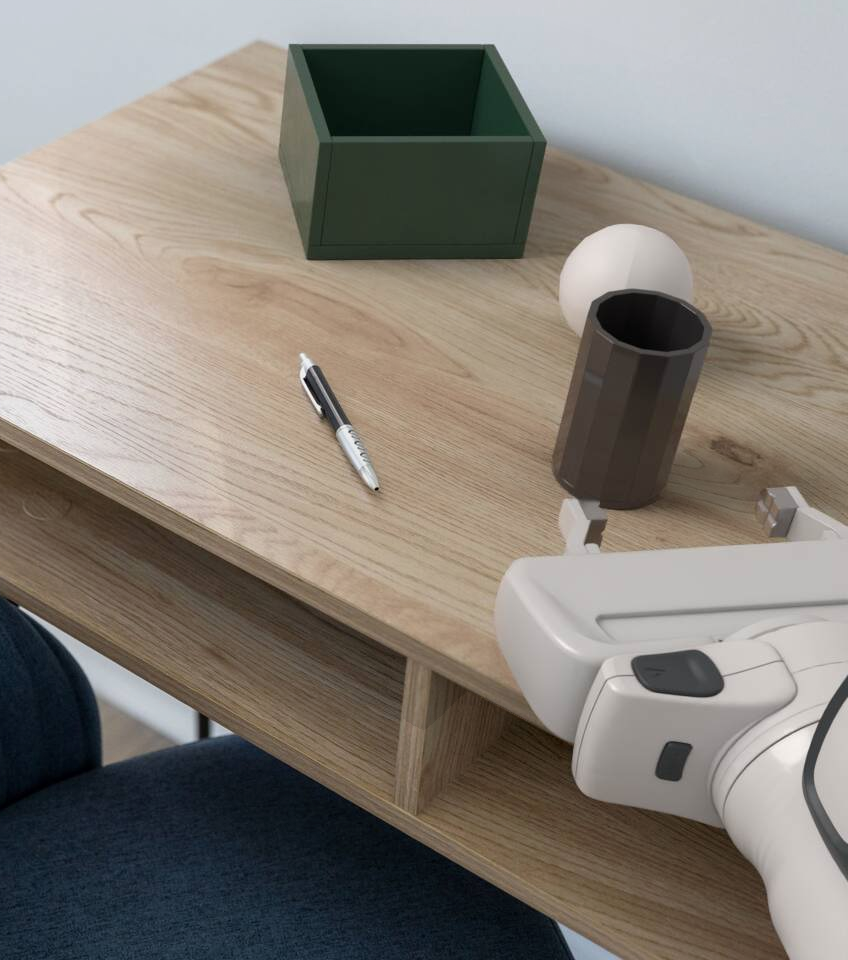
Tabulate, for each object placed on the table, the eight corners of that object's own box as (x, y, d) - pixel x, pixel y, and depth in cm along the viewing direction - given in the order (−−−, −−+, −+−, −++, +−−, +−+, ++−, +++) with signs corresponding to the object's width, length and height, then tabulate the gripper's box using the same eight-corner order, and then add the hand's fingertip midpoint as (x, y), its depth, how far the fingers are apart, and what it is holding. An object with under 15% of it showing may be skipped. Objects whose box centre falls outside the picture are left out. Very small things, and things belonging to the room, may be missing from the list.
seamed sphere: (577, 386, 90) (605, 274, 85) (528, 313, 96) (551, 204, 91) (743, 371, 92) (779, 259, 87) (685, 300, 97) (716, 192, 93)
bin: (474, 153, 111) (494, 43, 106) (523, 258, 101) (547, 141, 95) (277, 154, 110) (288, 43, 105) (306, 259, 100) (319, 142, 95)
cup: (645, 437, 87) (688, 287, 81) (680, 509, 82) (729, 355, 76) (538, 439, 86) (574, 288, 80) (568, 511, 82) (608, 357, 76)
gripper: (1082, 656, 63) (911, 437, 73) (573, 690, 61) (473, 460, 71) (1021, 763, 67) (867, 541, 77) (542, 799, 65) (451, 566, 75)
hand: (674, 503), depth 74 cm, fingers open, 8 cm apart
